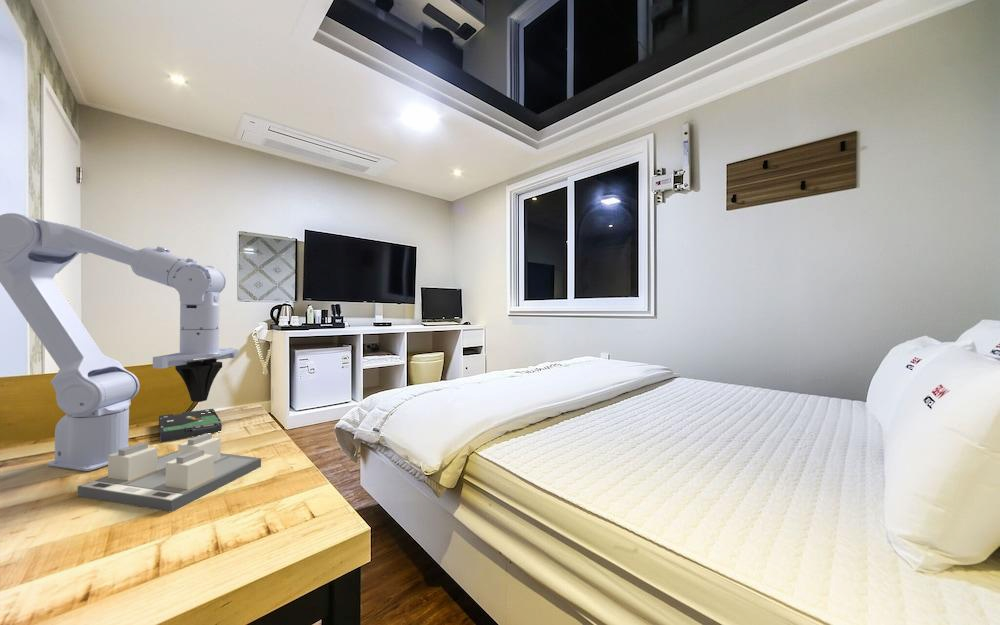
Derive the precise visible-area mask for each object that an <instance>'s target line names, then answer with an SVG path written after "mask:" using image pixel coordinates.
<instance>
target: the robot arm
mask: <svg viewBox="0 0 1000 625" xmlns="http://www.w3.org/2000/svg"><path fill="white" fill-rule="evenodd" d="M79 254H84V255H85V254H86V255H87V254H93V255H96V256H99V257H103V258H105V259H109V260H112V261H115V262H117V263H121V264H125V265H128V266H130V268H131V270H132V272H133V273H134V274H135V275H136V276H138V277H141V278H143V279H148V280H149V281H153V282H156V283H158V284H161V285H164V286H167V287H170V288H174V289H175V290H176V291H177V292H178V296H179V304H180V306H179V352H175V353H171V354H165V355H164V354H163V355H157V356H152V369H168V368H169V367H170V368H171V367H174V368H175V371H176V372H177V373H178V374H179V376H180V377H181V379H182V380H183V382H184V384H185V385H186V386H185V387H186V389H187V392H188V394H189V398H190V401H191V402H193V403H194V402H198V403H201V402H206V401H208V397H209V394H210V390H211V387H212V385H213V383H214V380H215V378H216V377H217V375H218V373H219V372H220V370H221V369H222V368H223V361H220V360H227V359H238V357H239V348H235V347H229V348H220V345H219V344H220V294H221V292H223V290H224V289H225V287H226V277H225V275H224V273H222V272H221V271H220V270H219V269H217V268H216V267H214V266H211V265H201V264H198V263H197V262H198V261H197V259H194V258H191V257H188V258H187V259H186V258H185V257H181V256H178V255H176V254H173V253H170V249H169V248H165V247H162V246H157V247H153V246H148V247H144V248H141V249H138V248H136V247H133V246H131V245H128V244H125V243H123V242H120V241H118V240H115V239H113V238H111V237H107V236H105V235H103V234H100V233H97V232H94V231H93V230H90V229H85V228H81V227H80V228H79V227H75V226H72V225H69V224H68V225H67V224H65V223H64V224H62V223H57V222H52V221H48V220H44V219H38V218H33V217H30V216H26V215H23V214H20V213H15V212H14V213H13V212H11V213H10V212H9V213H8V212H7V213H3V214H0V285H1V286H2V287H3V288H4V290H5V292H6V293H7V294H8V296H9V297H10V299H11V300H12V301H13V303H14V305H15V306H16V307H17V308H18V310H19V312H20V314H22V316H23V318H24V319H25V320H26V322H27V323H28V325H29V327H31V330H32V331H33V332H34V333H35V335H36V336H37V338H38V339H39V341H40V343H41V344H42V345H43V346H44V348H45V350H47V352H48V354H49V355H50V357H51V358H52V360H53V361H54V363H55V364H56V366H57V367H58V369H59V370H58V372H57V373H56V374H55V375H54V377H52V379H51V380H50V384H51V386H52V388H53V389H54V391H55V399H56V405H57V407H58V408H59V409H60V410H61V411H62V412H64V413H65V415H63V416H62V417H61V418H60V419H59V420H58V422H57V424H56V425H55V428H54V429H55V430H54V460H53V461H49V462H47V463H46V465H47V466H50V467H56V468H62V469H69V470H77V471H83V472H90V471H94V470H97V469H100V468H103V467H106V466H108V455H110V454H113V453H116V452H118V451H119V450H120V449H123V448H126V447H129V437H130V436H129V432H130V431H129V430H130V428H129V425H130V406H131V405H132V403H131V402H132V401H131V400H132V399H134V398H135V397H136V396H137V395H138V393H139V391H140V381H139V379H138V377H137V376H136V375H135V374H134V373H133V372H131V371H129V370H127V369H125V367H124V366H123V365H122V363H121V362H120V361H119V360H117V359H115V358H111V357H109V356H107V355H105V354H103V352H102V351H101V349H100V348H99V347H98V345H97V344H96V342H95V340H94V339H93V338H92V336H91V334H90V333H89V331H88V330H87V329H86V327H85V325H84V324H83V322H82V321H81V319H80V318H79V316H78V315H77V313H76V312H75V310H74V309H73V307H72V306H71V305H70V303H69V301H68V300H67V298H66V297H65V295H64V294H63V292H62V290H60V288H59V287H58V285H57V283H56V282H55V280H54V278H55V277H56V275H57V274H59V273H60V272H61V271H62V270H63V269H64V268H65V267H67V266H68V265H69V263H71V262H73V260H74V259H76V258H77V257H78V256H79Z"/></svg>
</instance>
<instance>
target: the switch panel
mask: <svg viewBox="0 0 1000 625" xmlns="http://www.w3.org/2000/svg"><path fill="white" fill-rule="evenodd" d="M176 457H178V450H176V451H173V452H170V453H166V454H164V455H161V456H159V457H157V470H154V471H152V472H149V473H147V474H144V475H141V476H139V477H136V478H134V479H131V480H129V481H128V480H121V479H114V478H108V475H106V476H104V477H100V478H98V479H95V480H91V481H89V482H86V483H83V484H80V485H78V486H77V497H78V498H84V499H90V500H96V501H102V502H109V503H116V504H120V505H127V506H134V507H140V508H145V509H152V510H157V511H158V510H159V511H163V512H171V513H172V512H174V511H176V510H178V509H180V508H182V507H185V505H189V504H190V503H192V502H194V501H195V500H197V499H200V498H202V497H204V496H206V495H208V494H210V493H212V492H213V491H215V490H218V489H219V488H222V487H223V486H225V485H227V484H229V483H231V482H234V481H235V480H237V479H239V478H241V477H243V476H245V475H246V474H249V473H251V472H253V471H254V470H256V469H258V468H260V467H262V458H261V457H255V456H247V455H240V454H231V453H221V452H220V458H219V459H217V460H215V461H214V477H213V478H210V479H208V480H206V481H204V482H202V483H200V484H198V485H196V486H193V487H191V488H189V489H182V488H175V487H169V486H165V485H166V462H169V461H172V460H174V459H176Z"/></svg>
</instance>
